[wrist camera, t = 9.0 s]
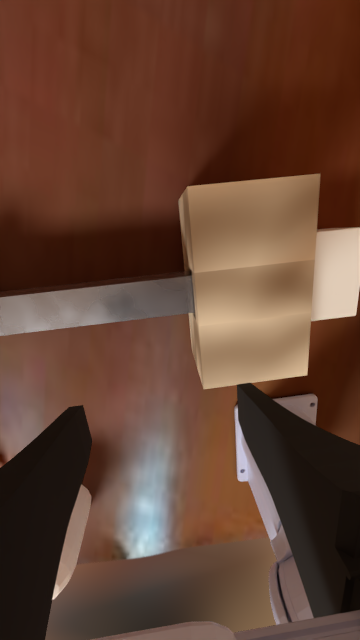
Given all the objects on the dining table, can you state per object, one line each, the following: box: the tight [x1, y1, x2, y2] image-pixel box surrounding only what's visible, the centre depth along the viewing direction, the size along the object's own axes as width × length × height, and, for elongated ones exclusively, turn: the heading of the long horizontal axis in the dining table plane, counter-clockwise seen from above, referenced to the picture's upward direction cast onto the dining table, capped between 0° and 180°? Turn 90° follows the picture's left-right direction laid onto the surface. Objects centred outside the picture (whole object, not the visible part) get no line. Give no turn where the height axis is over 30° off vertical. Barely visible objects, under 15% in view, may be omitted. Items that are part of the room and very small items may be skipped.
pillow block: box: [178, 174, 320, 389], centre depth 18 cm, size 12×7×6 cm, turn 5°
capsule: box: [52, 484, 91, 600], centre depth 23 cm, size 5×5×8 cm
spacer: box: [311, 227, 360, 321], centre depth 19 cm, size 6×4×4 cm
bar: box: [0, 270, 195, 336], centre depth 17 cm, size 3×24×6 cm, turn 95°
